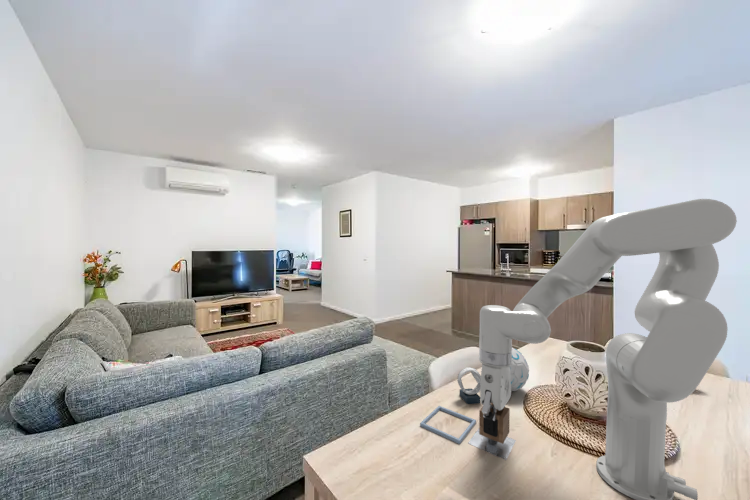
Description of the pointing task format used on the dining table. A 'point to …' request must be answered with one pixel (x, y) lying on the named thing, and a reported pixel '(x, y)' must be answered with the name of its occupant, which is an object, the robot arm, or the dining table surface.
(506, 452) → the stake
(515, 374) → the puzzle ball
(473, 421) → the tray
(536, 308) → the robot arm
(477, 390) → the watch
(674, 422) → the dining table surface
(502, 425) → the collar
